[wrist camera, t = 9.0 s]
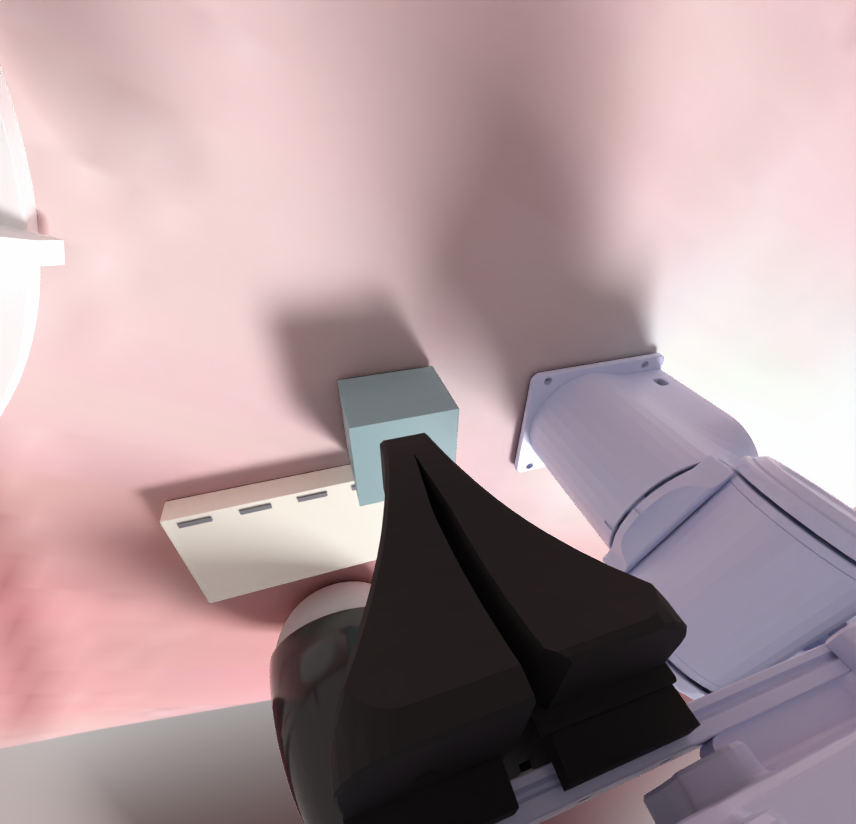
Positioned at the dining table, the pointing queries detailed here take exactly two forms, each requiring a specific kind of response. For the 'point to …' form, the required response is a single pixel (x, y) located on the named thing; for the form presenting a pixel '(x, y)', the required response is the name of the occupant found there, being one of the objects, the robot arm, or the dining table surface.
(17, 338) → the lazy susan
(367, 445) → the pale blue cube
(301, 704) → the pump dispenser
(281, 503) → the white slotted box
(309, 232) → the dining table surface
